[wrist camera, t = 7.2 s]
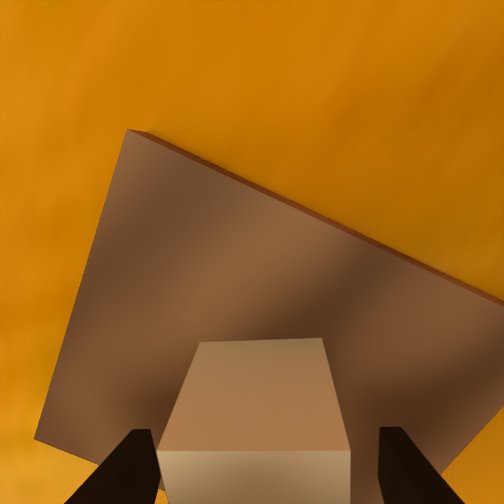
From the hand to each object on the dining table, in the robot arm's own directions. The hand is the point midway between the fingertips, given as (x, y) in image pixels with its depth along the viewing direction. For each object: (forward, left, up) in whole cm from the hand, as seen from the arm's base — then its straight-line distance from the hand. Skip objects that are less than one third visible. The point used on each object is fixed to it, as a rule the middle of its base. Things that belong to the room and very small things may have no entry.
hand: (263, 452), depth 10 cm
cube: (0, 0, -2) cm, 3 cm away
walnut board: (0, 0, -4) cm, 4 cm away
